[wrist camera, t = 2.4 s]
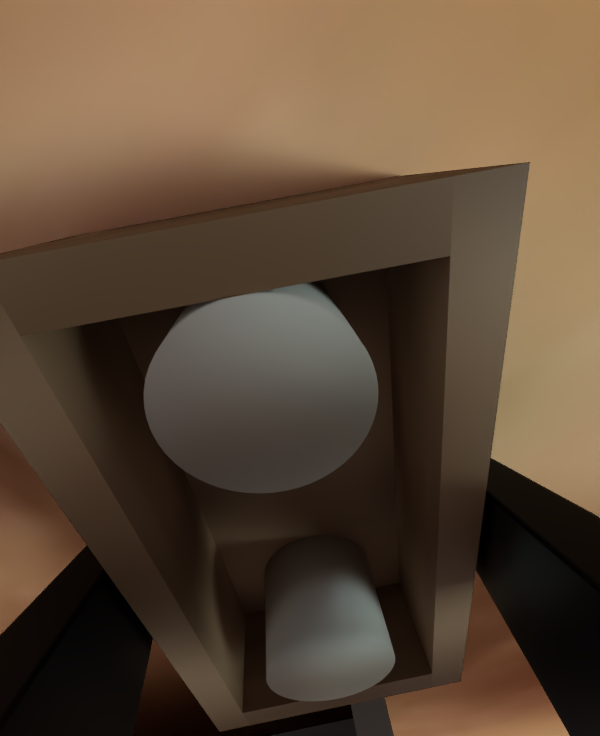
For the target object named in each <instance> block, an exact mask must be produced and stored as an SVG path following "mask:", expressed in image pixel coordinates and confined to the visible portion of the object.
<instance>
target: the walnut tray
mask: <svg viewBox="0 0 600 736" xmlns="http://www.w3.org/2000/svg"><path fill="white" fill-rule="evenodd" d="M529 164H530V162H527V163H517V164H508V165H499V166H490V167H480V168H471V169H462V170H452V171H443V172H434V173H424V174H415V175H406V176H400V177H394V178H389V179H383V180H378V181H372V182H367V183H361V184H356V185H350V186H345V187H340V188H334V189H329V190H323V191H318V192H312V193H307V194H301V195H296V196H290V197H285V198H280V199H274V200H269V201H263V202H258V203H252V204H247V205H241V206H236V207H230V208H225V209H220V210H214V211H209V212H203V213H198V214H192V215H187V216H181V217H176V218H170V219H165V220H160V221H154V222H149V223H143V224H138V225H132V226H127V227H121V228H116V229H110V230H105V231H100V232H94V233H89V234H83V235H78V236H72V237H67V238H63V239H59V240H55V241H51V242H47V243H42V244H38V245H34V246H30V247H26V248H22V249H18V250H13V251H9V252H5V253H1V254H0V424H1V425H2V426H3V428H4V429H5V431H6V432H7V433H8V435H9V436H10V438H11V439H12V440H13V442H14V443H15V445H16V446H17V447H18V449H19V450H20V452H21V453H22V454H23V456H24V457H25V459H26V460H27V462H28V463H29V464H30V466H31V467H32V469H33V470H34V471H35V473H36V474H37V476H38V477H39V478H40V480H41V481H42V483H43V484H44V485H45V487H46V488H47V490H48V491H49V492H50V494H51V495H52V497H53V498H54V499H55V501H56V502H57V504H58V505H59V507H60V508H61V509H62V511H63V512H64V514H65V515H66V516H67V518H68V519H69V521H70V522H71V523H72V525H73V526H74V528H75V529H76V530H77V532H78V533H79V535H80V536H81V537H82V539H83V540H84V542H85V543H86V544H87V546H88V547H89V549H90V550H91V552H92V553H93V554H94V556H95V557H96V559H97V560H98V561H99V563H100V564H101V566H102V567H103V568H104V570H105V571H106V573H107V574H108V575H109V577H110V578H111V580H112V581H113V582H114V584H115V585H116V587H117V588H118V589H119V591H120V592H121V594H122V595H123V596H124V598H125V599H126V601H127V602H128V604H129V605H130V606H131V608H132V609H133V611H134V612H135V613H136V615H137V616H138V618H139V619H140V620H141V622H142V623H143V625H144V626H145V627H146V629H147V630H148V632H149V633H150V634H151V636H152V637H153V639H154V640H155V641H156V643H157V644H158V646H159V647H160V649H161V650H162V651H163V653H164V654H165V656H166V657H167V658H168V660H169V661H170V663H171V664H172V665H173V667H174V668H175V670H176V671H177V672H178V674H179V675H180V677H181V678H182V679H183V681H184V682H185V684H186V685H187V686H188V688H189V689H190V691H191V692H192V694H193V695H194V696H195V698H196V699H197V701H198V702H199V703H200V705H201V706H202V708H203V709H204V710H205V712H206V713H207V715H208V716H209V717H210V719H211V720H212V722H213V723H214V724H215V726H216V727H217V729H218V730H219V731H220V732H221V731H226V730H231V729H235V728H240V727H245V726H250V725H254V724H259V723H264V722H269V721H273V720H278V719H283V718H288V717H293V716H297V715H302V714H307V713H312V712H316V711H321V710H326V709H331V708H336V707H340V706H345V705H350V704H355V703H359V702H364V701H369V700H374V699H378V698H383V697H388V696H393V695H398V694H402V693H407V692H412V691H417V690H421V689H426V688H431V687H436V686H441V685H445V684H450V683H455V682H460V681H461V676H462V669H463V661H464V654H465V646H466V639H467V631H468V624H469V616H470V609H471V601H472V594H473V586H474V578H475V571H476V563H477V556H478V548H479V541H480V533H481V526H482V518H483V511H484V503H485V496H486V488H487V481H488V473H489V466H490V458H491V450H492V443H493V435H494V428H495V420H496V413H497V405H498V398H499V390H500V383H501V375H502V368H503V360H504V353H505V345H506V338H507V330H508V322H509V315H510V307H511V300H512V292H513V285H514V277H515V270H516V262H517V255H518V247H519V240H520V232H521V225H522V217H523V209H524V202H525V194H526V187H527V179H528V172H529Z"/></svg>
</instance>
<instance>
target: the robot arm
mask: <svg viewBox="0 0 600 736" xmlns="http://www.w3.org/2000/svg"><path fill="white" fill-rule="evenodd" d="M476 571H477V573H478V574H479V576H480V578H481V580H482V581H483V583H484V585H485V587H486V589H487V590H488V592H489V594H490V596H491V597H492V599H493V601H494V603H495V604H496V606H497V608H498V610H499V611H500V613H501V615H502V617H503V618H504V620H505V622H506V624H507V626H508V627H509V629H510V631H511V633H512V634H513V636H514V638H515V640H516V641H517V643H518V645H519V647H520V648H521V650H522V652H523V654H524V655H525V657H526V659H527V661H528V662H529V664H530V666H531V668H532V670H533V671H534V673H535V675H536V677H537V678H538V680H539V682H540V684H541V685H542V687H543V689H544V691H545V692H546V694H547V696H548V698H549V699H550V701H551V703H552V705H553V707H554V708H555V710H556V712H557V714H558V715H559V717H560V719H561V721H562V722H563V724H564V726H565V728H566V729H567V731H568V733H569V735H570V736H600V518H599V517H598V516H596V515H595V514H593V513H591V512H589V511H587V510H585V509H584V508H582V507H580V506H578V505H576V504H574V503H573V502H571V501H569V500H567V499H565V498H563V497H562V496H560V495H558V494H556V493H554V492H552V491H551V490H549V489H547V488H545V487H543V486H541V485H540V484H538V483H536V482H534V481H532V480H530V479H529V478H527V477H525V476H523V475H521V474H519V473H518V472H516V471H514V470H512V469H510V468H508V467H507V466H505V465H503V464H501V463H499V462H497V461H496V460H494V459H492V458H490V466H489V473H488V481H487V488H486V496H485V503H484V511H483V518H482V526H481V533H480V541H479V548H478V556H477V563H476ZM152 640H153V637H152V636H151V634H150V633H149V632H148V630H147V629H146V627H145V626H144V625H143V623H142V622H141V620H140V619H139V618H138V616H137V615H136V613H135V612H134V611H133V609H132V608H131V606H130V605H129V604H128V602H127V601H126V599H125V598H124V596H123V595H122V594H121V592H120V591H119V589H118V588H117V587H116V585H115V584H114V582H113V581H112V580H111V578H110V577H109V575H108V574H107V573H106V571H105V570H104V568H103V567H102V566H101V564H100V563H99V561H98V560H97V559H96V557H95V556H94V554H93V553H92V552H91V550H90V549H89V547H88V546H86V547H85V548H84V549H83V550H82V551H81V552H80V553H79V554H78V555H77V556H76V557H75V558H74V559H73V560H72V561H71V562H70V563H69V564H68V566H67V567H66V568H65V569H64V570H63V571H62V572H61V573H60V574H59V575H58V576H57V577H56V578H55V579H54V580H53V581H52V582H51V583H50V584H49V585H48V586H47V587H46V588H45V589H44V590H43V591H42V592H41V594H40V595H39V596H38V597H37V598H36V599H35V600H34V601H33V602H32V603H31V604H30V605H29V606H28V607H27V608H26V609H25V610H24V611H23V612H22V613H21V614H20V615H19V616H18V617H17V618H16V619H15V620H14V622H13V623H12V624H11V625H10V626H9V627H8V628H7V629H6V630H5V631H4V632H3V633H2V634H1V635H0V736H133V732H134V727H135V722H136V717H137V713H138V708H139V703H140V698H141V693H142V688H143V684H144V679H145V674H146V669H147V664H148V659H149V654H150V650H151V645H152Z"/></svg>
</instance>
